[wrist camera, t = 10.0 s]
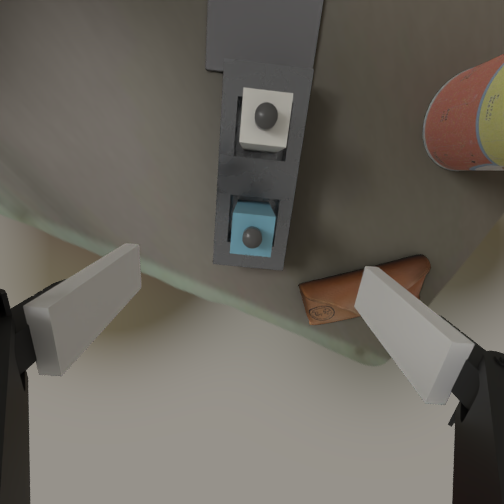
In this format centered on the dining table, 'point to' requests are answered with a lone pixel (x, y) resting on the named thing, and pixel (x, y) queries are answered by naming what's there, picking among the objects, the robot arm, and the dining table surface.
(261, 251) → the plug
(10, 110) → the dining table surface
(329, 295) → the sunglasses case
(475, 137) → the canned food
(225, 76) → the strip
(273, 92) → the white knobbed block
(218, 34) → the mat
